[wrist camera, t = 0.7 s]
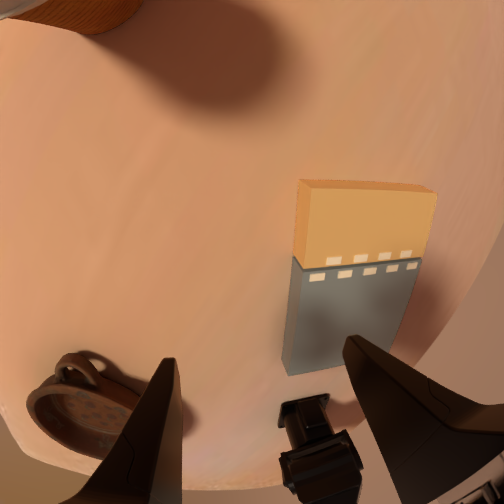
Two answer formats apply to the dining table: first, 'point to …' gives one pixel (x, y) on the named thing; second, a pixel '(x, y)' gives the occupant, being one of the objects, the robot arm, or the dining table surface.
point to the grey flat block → (343, 310)
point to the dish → (81, 407)
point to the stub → (360, 222)
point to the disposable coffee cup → (72, 13)
